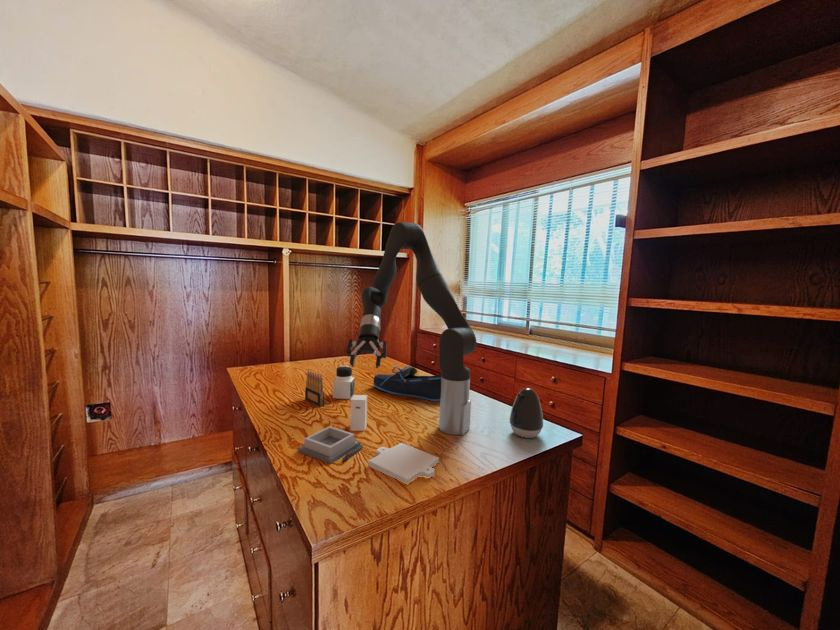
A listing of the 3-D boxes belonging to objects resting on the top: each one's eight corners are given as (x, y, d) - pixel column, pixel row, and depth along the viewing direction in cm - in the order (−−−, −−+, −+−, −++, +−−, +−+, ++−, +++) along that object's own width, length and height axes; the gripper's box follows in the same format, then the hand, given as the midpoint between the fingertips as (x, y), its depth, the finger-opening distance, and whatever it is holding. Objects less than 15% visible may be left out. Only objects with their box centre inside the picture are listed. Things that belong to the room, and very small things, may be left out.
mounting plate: (361, 464, 89) (361, 457, 89) (394, 446, 100) (394, 439, 99) (415, 491, 78) (416, 483, 78) (446, 468, 89) (447, 461, 89)
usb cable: (360, 446, 98) (361, 443, 98) (363, 447, 97) (363, 444, 97) (341, 461, 90) (341, 457, 89) (344, 462, 89) (344, 458, 89)
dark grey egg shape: (501, 433, 110) (504, 386, 108) (520, 425, 116) (523, 381, 115) (530, 445, 102) (533, 395, 101) (548, 436, 109) (552, 389, 107)
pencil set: (304, 399, 134) (305, 369, 132) (309, 398, 135) (309, 368, 134) (319, 407, 126) (320, 375, 125) (324, 406, 128) (324, 374, 127)
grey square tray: (360, 445, 98) (360, 433, 98) (330, 464, 88) (330, 450, 88) (329, 434, 104) (329, 423, 104) (297, 451, 94) (297, 439, 93)
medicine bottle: (350, 399, 136) (351, 369, 134) (332, 398, 136) (332, 369, 134) (354, 393, 143) (354, 365, 141) (337, 392, 143) (337, 364, 142)
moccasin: (381, 383, 159) (382, 358, 158) (454, 393, 148) (455, 366, 147) (367, 391, 146) (368, 364, 145) (446, 404, 135) (447, 374, 133)
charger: (366, 424, 112) (367, 395, 111) (364, 431, 108) (365, 400, 107) (352, 424, 112) (353, 394, 111) (350, 430, 108) (350, 399, 107)
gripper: (350, 322, 127) (342, 360, 117) (388, 324, 128) (384, 361, 117) (352, 334, 133) (345, 371, 123) (388, 335, 133) (385, 372, 123)
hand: (364, 366), depth 120 cm, fingers open, 8 cm apart
